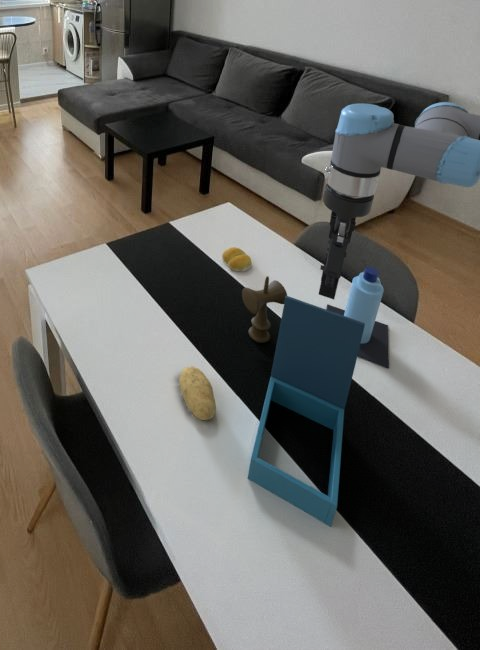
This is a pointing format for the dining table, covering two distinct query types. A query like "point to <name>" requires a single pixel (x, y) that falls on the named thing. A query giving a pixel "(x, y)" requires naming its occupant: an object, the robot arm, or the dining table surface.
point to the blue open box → (285, 483)
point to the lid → (317, 350)
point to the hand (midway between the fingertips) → (327, 288)
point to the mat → (372, 342)
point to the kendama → (262, 307)
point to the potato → (197, 393)
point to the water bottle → (365, 300)
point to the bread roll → (236, 259)
